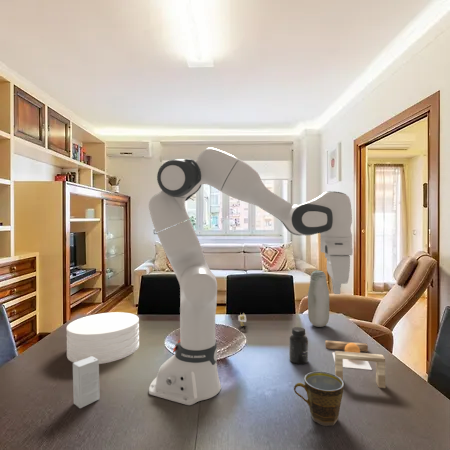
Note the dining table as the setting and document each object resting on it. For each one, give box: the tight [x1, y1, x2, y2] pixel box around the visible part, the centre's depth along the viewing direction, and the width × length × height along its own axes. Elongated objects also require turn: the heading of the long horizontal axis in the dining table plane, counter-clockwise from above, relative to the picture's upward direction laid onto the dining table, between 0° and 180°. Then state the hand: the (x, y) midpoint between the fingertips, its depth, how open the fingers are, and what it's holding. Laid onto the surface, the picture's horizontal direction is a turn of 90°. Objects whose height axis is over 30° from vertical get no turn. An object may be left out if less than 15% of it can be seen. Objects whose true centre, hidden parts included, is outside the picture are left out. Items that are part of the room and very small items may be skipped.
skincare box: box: [72, 356, 101, 409], centre depth 88 cm, size 6×4×12 cm
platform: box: [237, 312, 247, 325], centre depth 151 cm, size 12×18×7 cm, turn 178°
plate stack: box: [66, 311, 140, 365], centre depth 126 cm, size 28×28×12 cm
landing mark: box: [332, 351, 373, 371], centre depth 112 cm, size 12×12×1 cm
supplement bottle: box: [288, 326, 309, 365], centre depth 113 cm, size 7×7×12 cm
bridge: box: [334, 350, 386, 389], centre depth 97 cm, size 3×14×9 cm, turn 76°
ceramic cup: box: [293, 370, 345, 427], centre depth 80 cm, size 13×10×10 cm
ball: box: [344, 342, 361, 353], centre depth 115 cm, size 6×6×6 cm
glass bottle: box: [307, 269, 330, 328], centre depth 150 cm, size 10×10×28 cm
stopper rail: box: [324, 339, 369, 353], centre depth 123 cm, size 16×2×2 cm, turn 76°
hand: (336, 293), depth 89 cm, fingers closed
